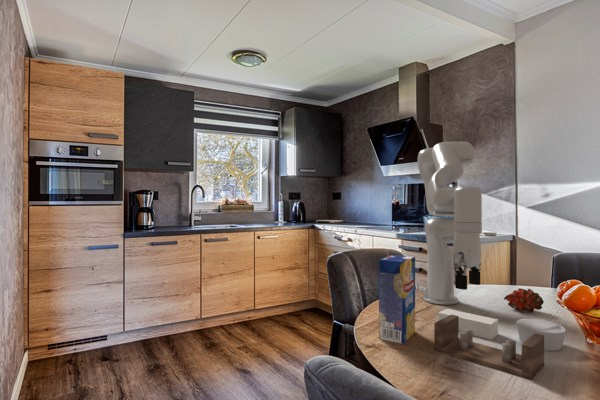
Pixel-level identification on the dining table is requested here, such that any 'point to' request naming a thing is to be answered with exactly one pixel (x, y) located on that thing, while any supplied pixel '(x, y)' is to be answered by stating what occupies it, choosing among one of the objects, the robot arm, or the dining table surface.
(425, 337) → the dining table surface
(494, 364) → the peg frame
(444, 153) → the robot arm
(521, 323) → the ramekin
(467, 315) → the shelf board
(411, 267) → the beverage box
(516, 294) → the dragon fruit
